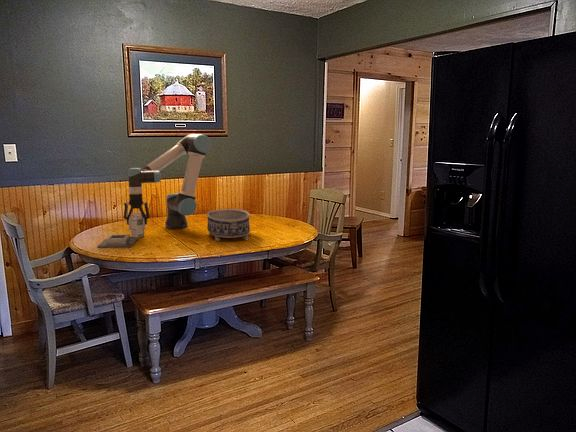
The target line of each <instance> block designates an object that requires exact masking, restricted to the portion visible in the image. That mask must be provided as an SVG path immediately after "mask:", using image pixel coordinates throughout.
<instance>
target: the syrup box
mask: <svg viewBox="0 0 576 432" xmlns="http://www.w3.org/2000/svg"><path fill="white" fill-rule="evenodd" d="M143 219H144V218H143V216H142V214H141V212H135V213H132V214H131V215H130V225H131V230H130V238H138V239H139V238H142V237H144V236H145V230H143Z"/></svg>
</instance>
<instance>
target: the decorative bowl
mask: <svg viewBox="0 0 576 432" xmlns="http://www.w3.org/2000/svg"><path fill="white" fill-rule="evenodd" d="M250 216H251V213H249V211H247V210H246V209H241V208H240V209H239V208H229V209H228V208H225V209H215V210H214V209H213V210H210V211H207V213H206V217H207V227H206V229H207V232H209V234H210V235H213V237H214V241H215V242H221V240H222V239H221V238H226V239H228V238H229V239H231V238H232V239H233V238H241V237H242V240H244V239H249V240H250V238H249V234H250V231H251V230H250V229H251V227H250Z"/></svg>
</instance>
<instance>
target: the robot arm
mask: <svg viewBox="0 0 576 432" xmlns="http://www.w3.org/2000/svg"><path fill="white" fill-rule="evenodd" d="M211 147H212V142H211V139H210V138H209V136H207V135H205V134H203V133H190V134H187V135H186V136H183V138H182V139H180V140H179V141H177V142H176V145H174V146H173V147H171V148H170V149H168V150H167V151H166V152H164V153H163V154H161V155H159V157H157V158H155V159H154V160H153V161H151V162H149V163H148V164H147V165H146V166H144V167H142V168H141V167H130V168H128V170H127V171H128V172H127V178H128V193H129V194H128V196H129V198H128V199H129V200H128V202H125V203H123V205H124V211H123V212H124V213H123V219H125V220H126V225H127V226H128V231H131V225H130V215H131V214H133V211H134V209H138V210H139V213H141V214H142V216H143V230H144V231H145V230H146V229H147V228H146V225H147V224H148V219H150V218H151V217H150V212H149V207H148V205H149V204H148V202H145V201H143V187H142V184H156V183H160V182H161V181H162V175H161V170H163V169H165V168H166V167H167V166H169V165H171V163H173V162H175V161H176V160H177V159H179V158H180V157H182V156H184V155H185V156H186V155H187V154H188V155H189V157H188V161H187V164H186V168H185V173H184V177H183V183H182V185H181V190H180V191H179V192H177V193H169V194H168V193H167V196H166V212H167V217H166V220H165V222H164V228H166V229H170V230H179V229H186V228H188V226H189V225H188V220H187V218H186V216H192V215H193V214H194V213H195V212H196V210H197V205H198V204H197V202H196V198H197V197H196V194H195V192H196V189H197V183H198V178H199V175H200V170H201V167H202V163H203V159H204V158H205V157H206V155H207V152H209V151H210V149H211ZM129 206H130V209H129V212H128V208H129ZM143 206H144V209H145V211H144V209H143Z"/></svg>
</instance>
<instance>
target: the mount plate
mask: <svg viewBox="0 0 576 432" xmlns="http://www.w3.org/2000/svg"><path fill="white" fill-rule="evenodd" d="M138 239H139V237H138V238H136V237H131V233H130V234H125V233H123V234H121V233H120V234H110V235H108V237H106V238H105V239H104V240H103V241H101V242H100V243H99V244H98V245H97V248H98V249H102V248H103V249H107V248H108V249H112V248H113V249H115V248H118V249H119V248H121V249H123V248H132V247H133V246H134V245H135V243H137V241H138Z"/></svg>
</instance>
